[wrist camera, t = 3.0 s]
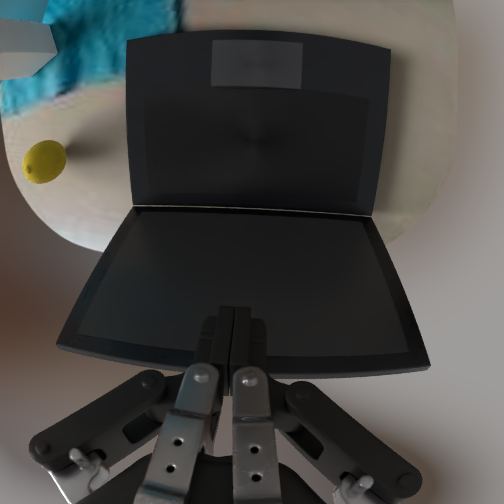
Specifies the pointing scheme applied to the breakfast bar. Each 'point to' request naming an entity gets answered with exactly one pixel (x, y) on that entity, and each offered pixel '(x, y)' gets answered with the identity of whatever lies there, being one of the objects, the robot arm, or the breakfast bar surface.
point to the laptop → (256, 120)
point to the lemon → (44, 161)
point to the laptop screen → (248, 292)
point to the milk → (24, 48)
